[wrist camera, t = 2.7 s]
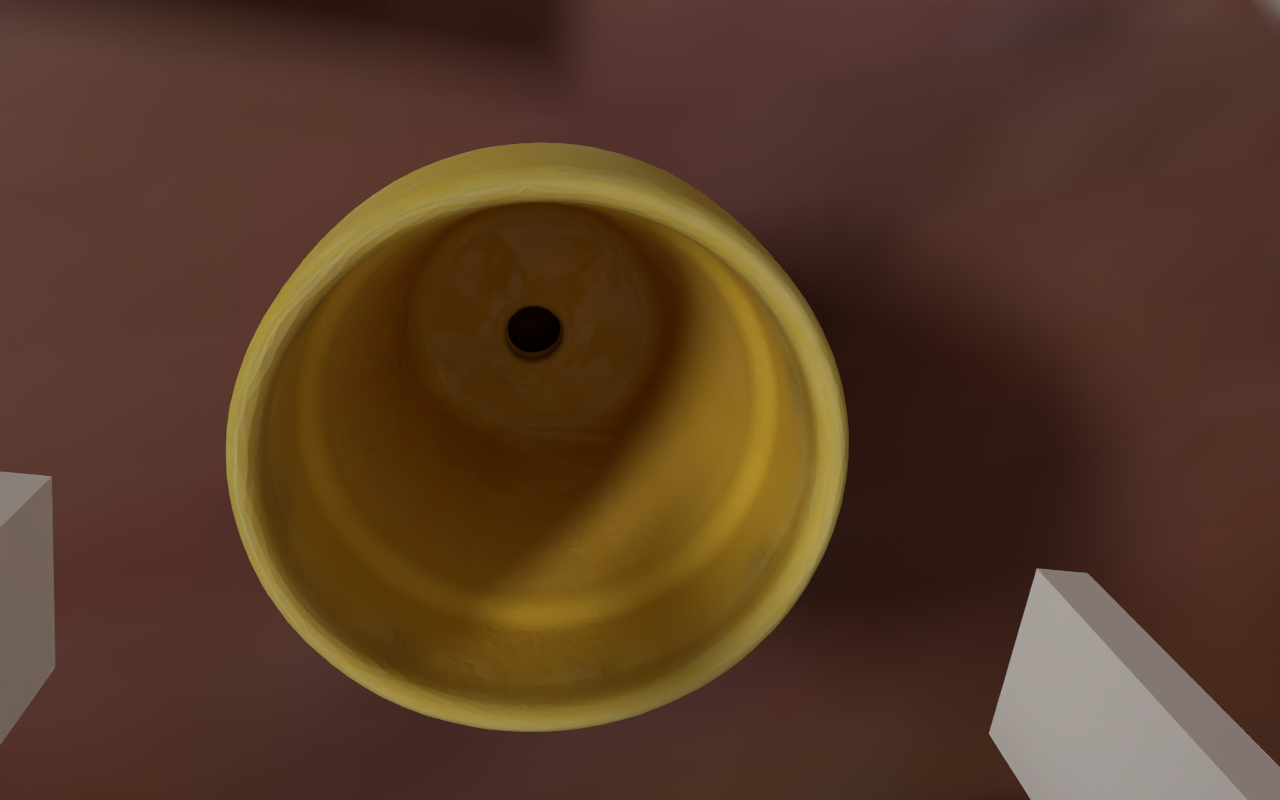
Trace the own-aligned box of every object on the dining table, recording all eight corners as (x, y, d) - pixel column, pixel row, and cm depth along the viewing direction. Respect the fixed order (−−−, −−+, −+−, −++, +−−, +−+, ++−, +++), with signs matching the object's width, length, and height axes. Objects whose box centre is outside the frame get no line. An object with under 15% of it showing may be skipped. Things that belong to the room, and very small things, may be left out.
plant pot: (615, 570, 30) (657, 820, 21) (251, 401, 28) (119, 604, 18) (822, 237, 28) (972, 358, 19) (442, 15, 25) (398, 30, 16)
